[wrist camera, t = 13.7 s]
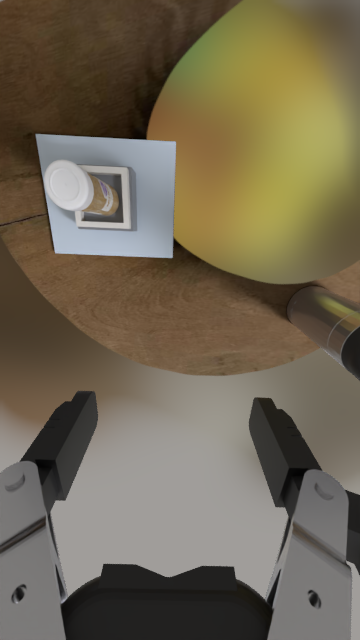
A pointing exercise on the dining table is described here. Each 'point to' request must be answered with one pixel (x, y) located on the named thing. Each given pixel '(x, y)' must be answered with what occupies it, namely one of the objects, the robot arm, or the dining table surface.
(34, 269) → the dining table surface
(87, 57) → the dining table surface
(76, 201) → the sprinkles bottle
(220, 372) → the dining table surface
